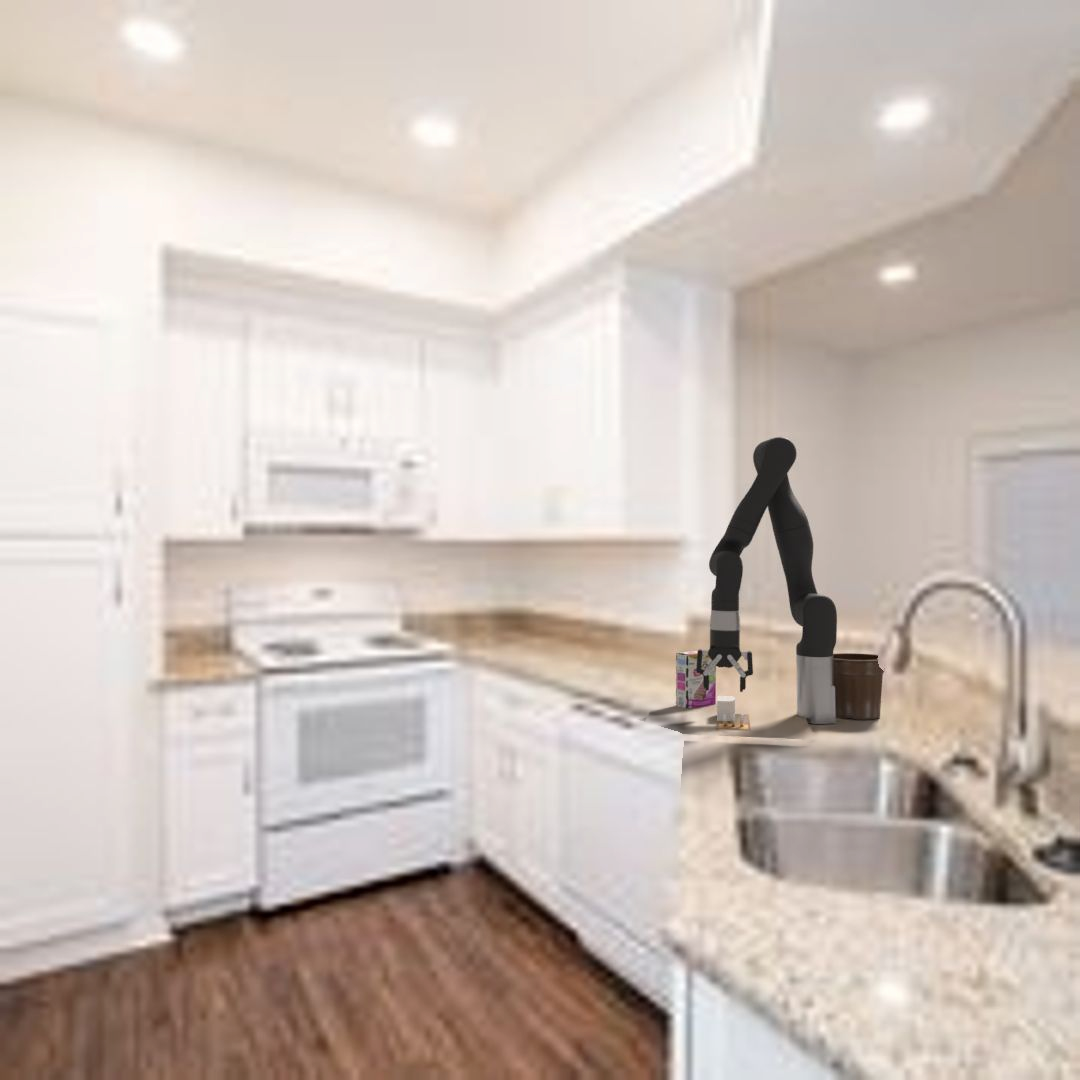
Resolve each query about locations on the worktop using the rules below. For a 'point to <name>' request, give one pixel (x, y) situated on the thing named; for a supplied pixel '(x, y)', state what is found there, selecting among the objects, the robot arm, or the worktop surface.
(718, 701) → the connector housing
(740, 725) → the header pins
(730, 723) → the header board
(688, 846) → the worktop surface
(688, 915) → the worktop surface
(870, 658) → the plant pot
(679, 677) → the candy bar box
